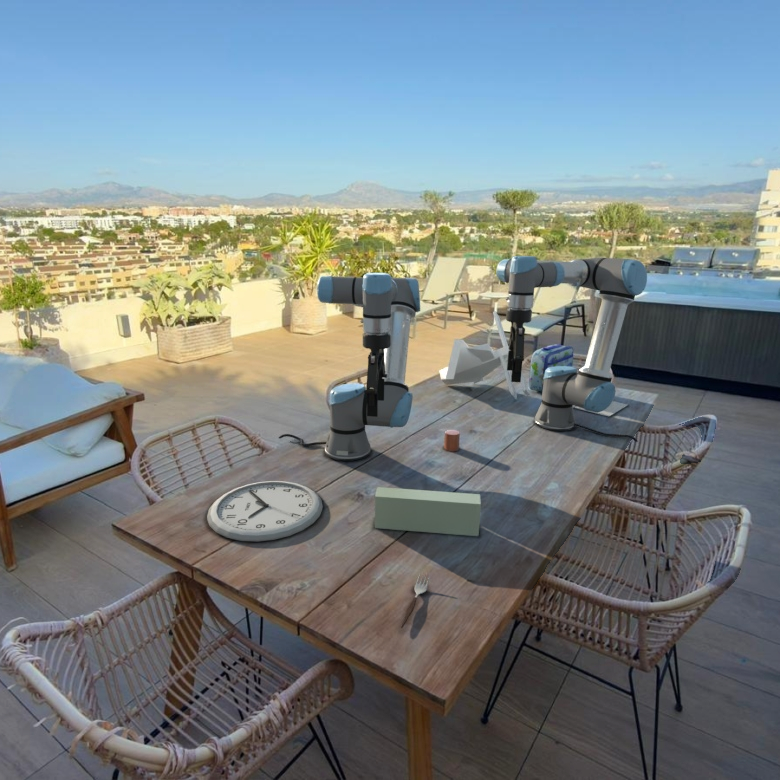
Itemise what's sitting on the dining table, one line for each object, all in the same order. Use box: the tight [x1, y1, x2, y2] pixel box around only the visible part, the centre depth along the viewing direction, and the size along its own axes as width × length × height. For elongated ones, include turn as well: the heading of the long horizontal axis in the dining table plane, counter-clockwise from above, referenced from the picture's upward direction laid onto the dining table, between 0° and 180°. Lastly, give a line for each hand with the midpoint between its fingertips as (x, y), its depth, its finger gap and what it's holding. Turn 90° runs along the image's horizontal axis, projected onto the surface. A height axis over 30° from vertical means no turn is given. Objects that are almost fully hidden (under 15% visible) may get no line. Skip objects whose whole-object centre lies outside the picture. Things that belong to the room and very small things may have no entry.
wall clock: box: [206, 480, 324, 543], centre depth 140 cm, size 30×2×30 cm
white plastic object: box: [438, 310, 531, 400], centre depth 245 cm, size 37×45×31 cm
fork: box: [400, 570, 431, 629], centre depth 106 cm, size 3×16×2 cm, turn 160°
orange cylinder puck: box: [443, 429, 461, 452], centre depth 180 cm, size 5×5×6 cm
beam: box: [374, 486, 482, 537], centre depth 132 cm, size 26×5×9 cm, turn 83°
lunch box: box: [528, 344, 574, 393], centre depth 247 cm, size 26×11×21 cm, turn 134°
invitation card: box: [573, 400, 629, 418], centre depth 226 cm, size 21×1×15 cm
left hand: (376, 407), depth 146 cm, fingers open, 13 cm apart
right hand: (513, 375), depth 165 cm, fingers open, 13 cm apart
